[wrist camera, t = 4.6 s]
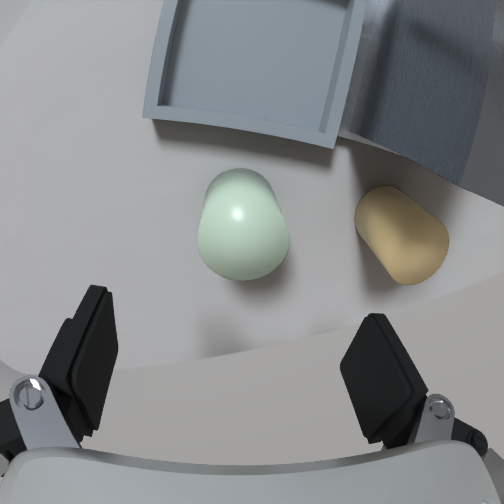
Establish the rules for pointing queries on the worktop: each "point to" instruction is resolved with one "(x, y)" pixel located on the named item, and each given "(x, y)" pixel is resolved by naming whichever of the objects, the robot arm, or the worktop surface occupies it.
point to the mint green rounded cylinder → (242, 226)
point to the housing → (433, 88)
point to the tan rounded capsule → (401, 234)
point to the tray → (256, 65)
